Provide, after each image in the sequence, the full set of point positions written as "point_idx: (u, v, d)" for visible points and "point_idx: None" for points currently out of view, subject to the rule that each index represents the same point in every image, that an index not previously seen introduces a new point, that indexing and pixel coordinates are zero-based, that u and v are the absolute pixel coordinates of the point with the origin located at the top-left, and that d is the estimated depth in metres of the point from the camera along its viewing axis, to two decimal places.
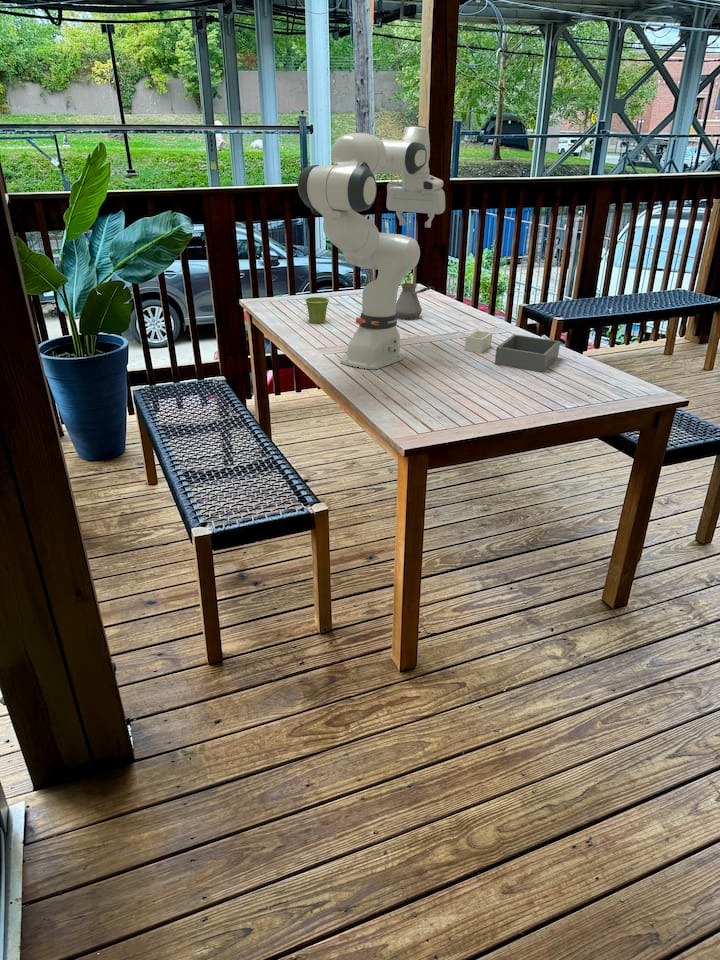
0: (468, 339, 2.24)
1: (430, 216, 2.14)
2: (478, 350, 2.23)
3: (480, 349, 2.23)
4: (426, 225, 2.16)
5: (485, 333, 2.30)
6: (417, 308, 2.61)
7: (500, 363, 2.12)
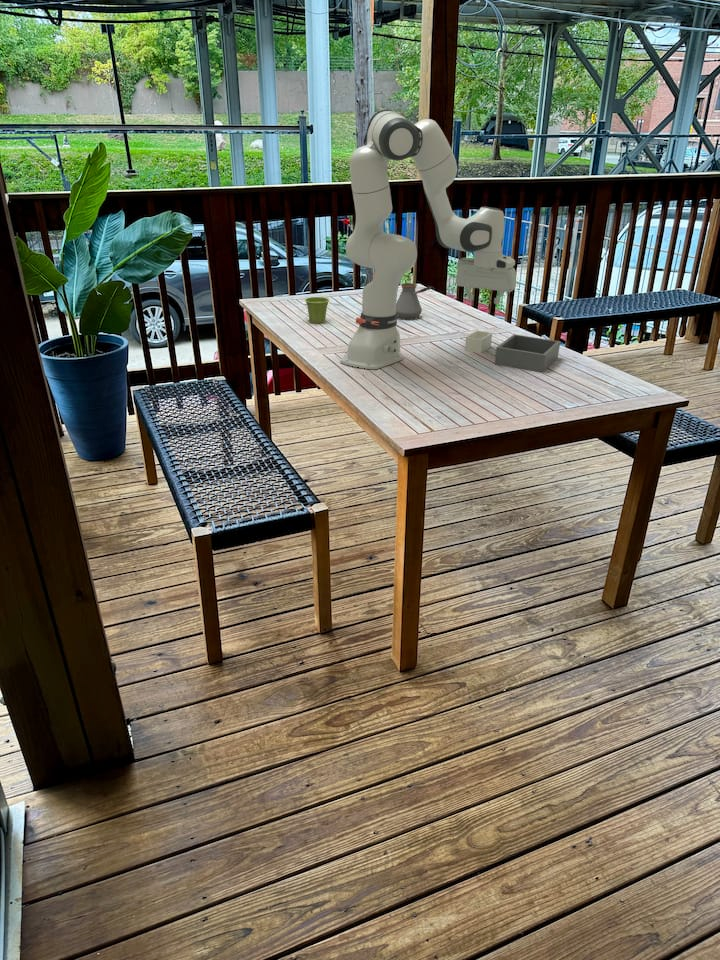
0: (468, 339, 2.24)
1: (500, 293, 2.16)
2: (478, 350, 2.23)
3: (480, 349, 2.23)
4: (495, 301, 2.18)
5: (485, 333, 2.30)
6: (417, 308, 2.61)
7: (500, 363, 2.12)
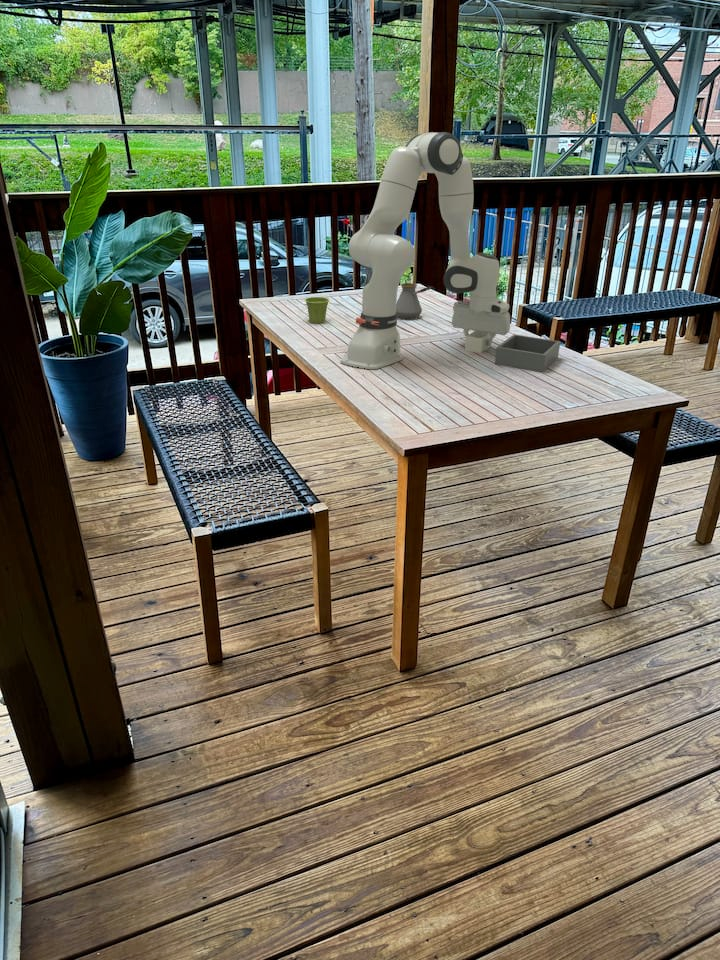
0: (468, 338, 2.24)
1: (492, 335, 2.23)
2: (478, 349, 2.23)
3: (480, 348, 2.23)
4: (487, 343, 2.25)
5: (485, 332, 2.29)
6: (417, 308, 2.61)
7: (500, 363, 2.12)
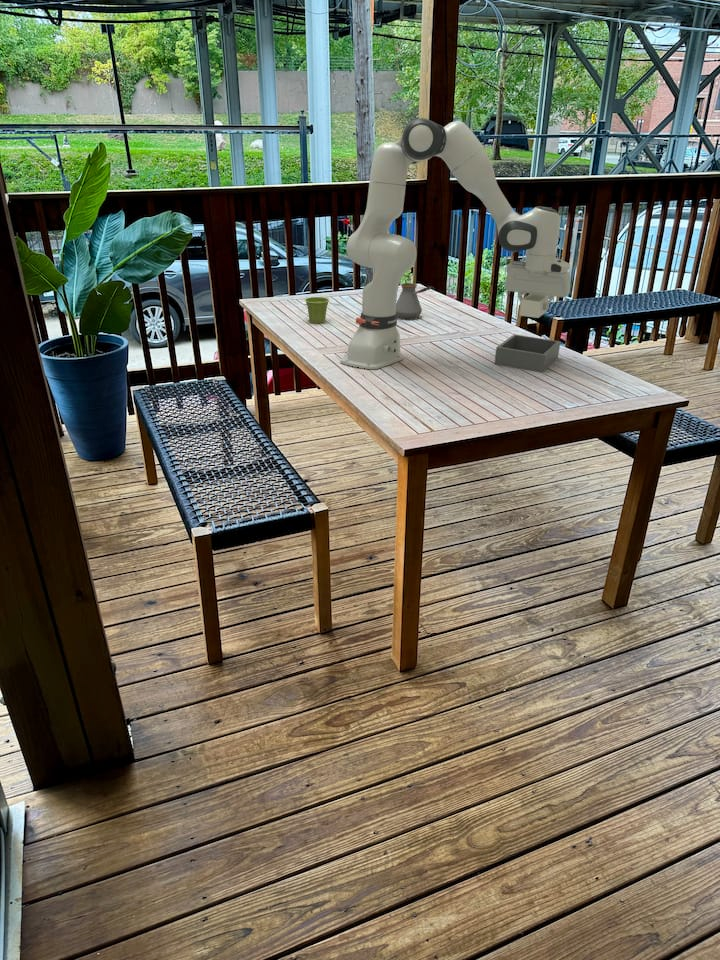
0: (524, 302, 2.04)
1: (550, 298, 2.04)
2: (535, 314, 2.04)
3: (537, 313, 2.04)
4: (544, 307, 2.06)
5: (541, 296, 2.10)
6: (417, 308, 2.61)
7: (500, 363, 2.12)
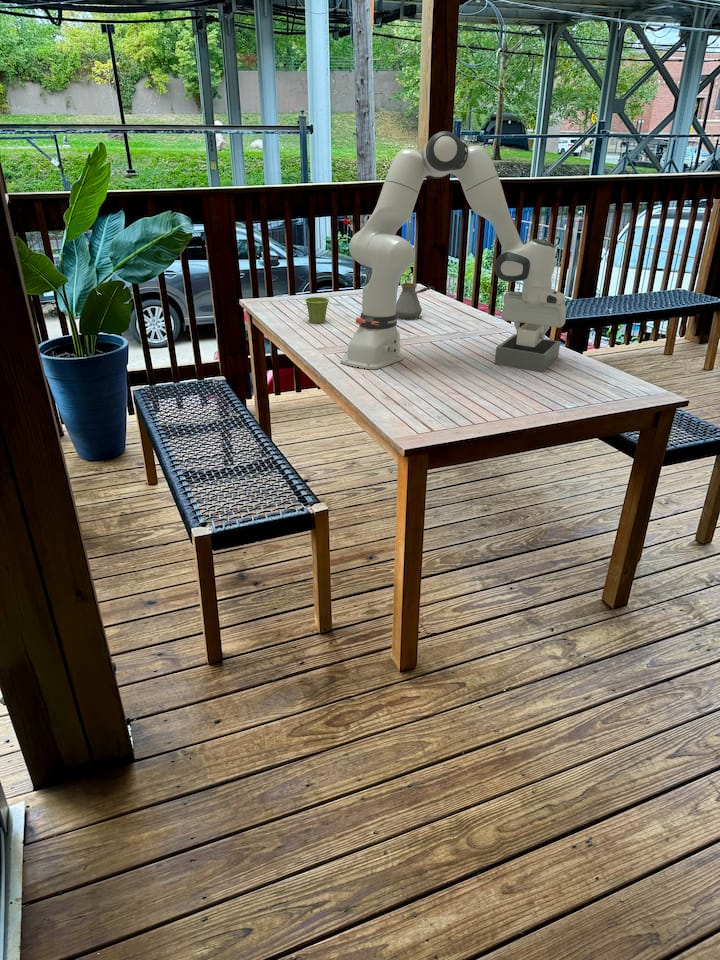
0: (520, 331, 2.09)
1: (546, 328, 2.08)
2: (531, 343, 2.09)
3: (533, 342, 2.08)
4: (540, 337, 2.11)
5: (537, 325, 2.15)
6: (417, 308, 2.61)
7: (500, 363, 2.12)
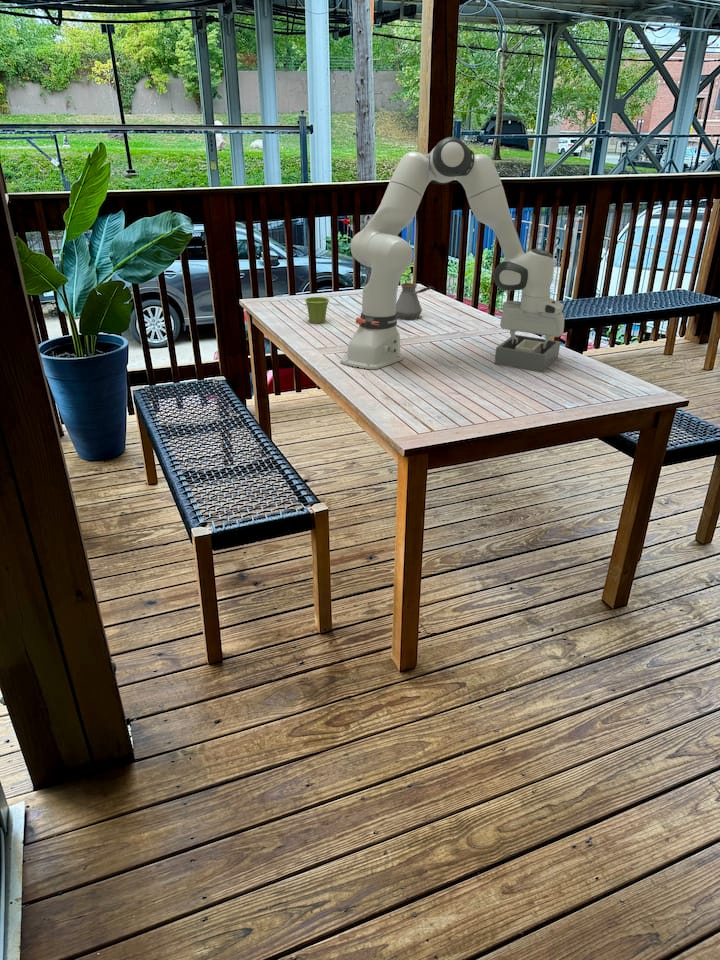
0: (518, 349, 2.11)
1: (547, 338, 2.09)
2: None
3: None
4: (542, 346, 2.11)
5: (534, 342, 2.17)
6: (417, 308, 2.61)
7: (500, 363, 2.12)
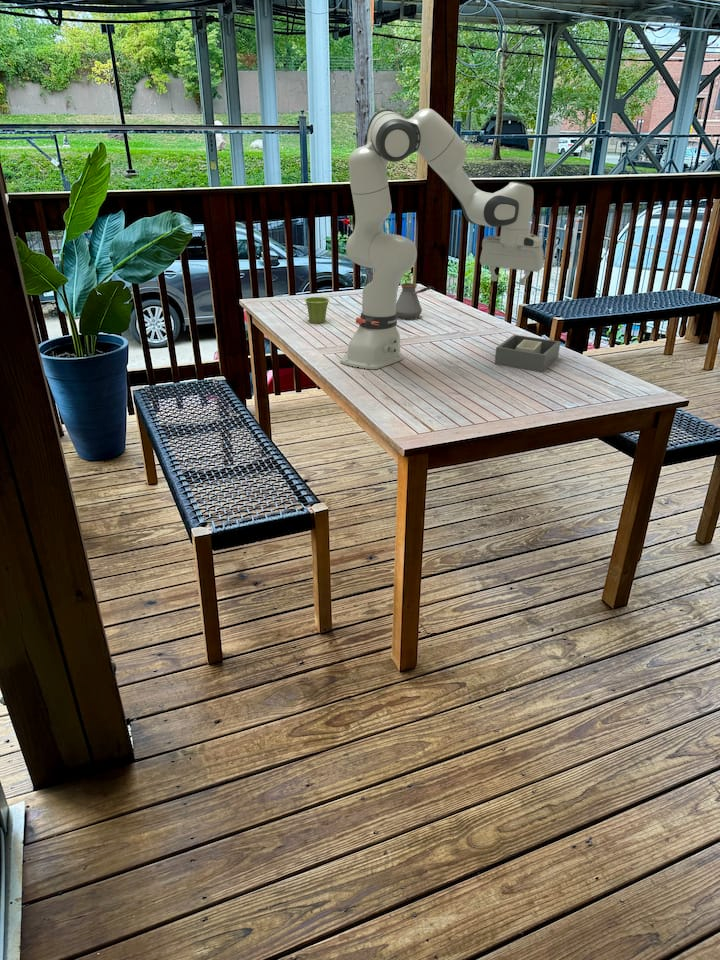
0: (518, 349, 2.11)
1: (526, 273, 2.08)
2: None
3: None
4: (521, 282, 2.10)
5: (534, 342, 2.17)
6: (417, 308, 2.61)
7: (500, 363, 2.12)
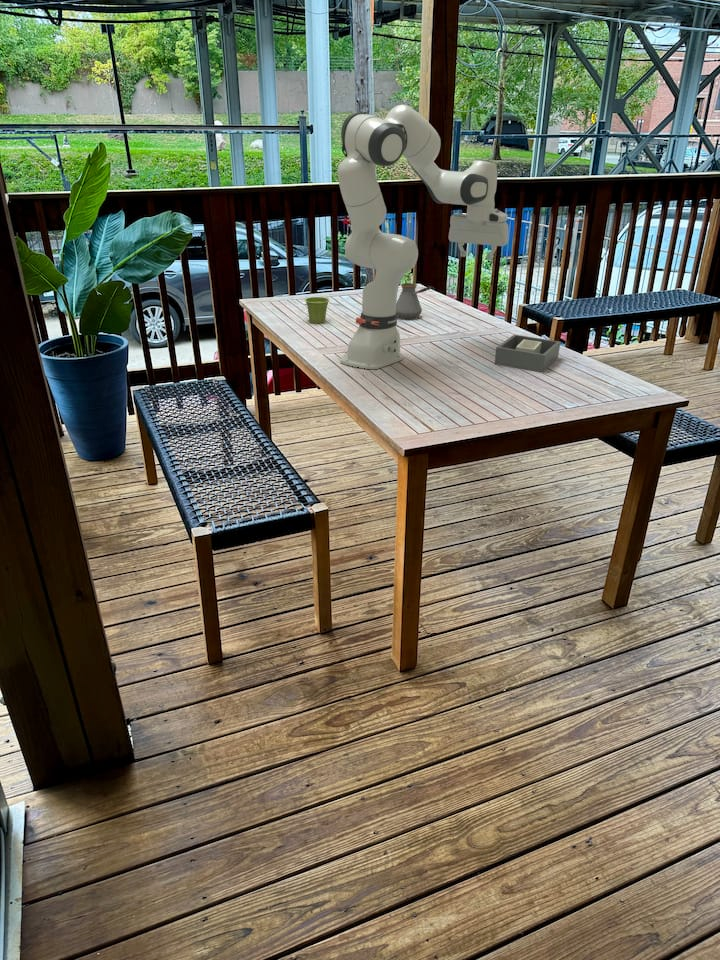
0: (518, 349, 2.11)
1: (493, 248, 2.17)
2: None
3: None
4: (488, 257, 2.19)
5: (534, 342, 2.17)
6: (417, 308, 2.61)
7: (500, 363, 2.12)
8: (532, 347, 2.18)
